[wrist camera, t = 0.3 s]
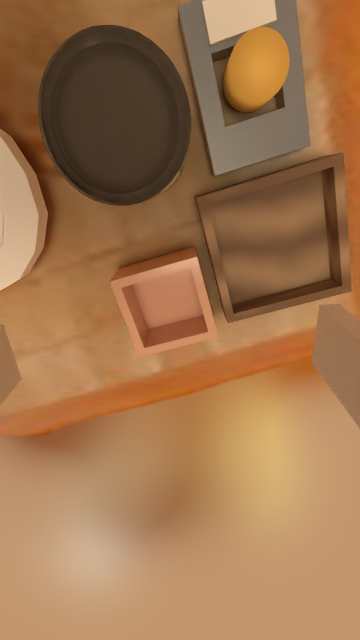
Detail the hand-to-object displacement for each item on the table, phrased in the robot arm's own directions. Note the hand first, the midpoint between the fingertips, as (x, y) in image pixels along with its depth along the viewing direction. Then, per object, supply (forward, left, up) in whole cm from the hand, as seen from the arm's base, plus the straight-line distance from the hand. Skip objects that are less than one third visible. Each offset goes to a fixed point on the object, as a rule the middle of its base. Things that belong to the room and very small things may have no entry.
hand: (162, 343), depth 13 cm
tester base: (-12, +11, -27) cm, 32 cm away
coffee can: (-10, -1, -27) cm, 29 cm away
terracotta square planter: (+7, -3, -27) cm, 28 cm away
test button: (-12, +11, -24) cm, 29 cm away
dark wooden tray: (+4, +11, -27) cm, 29 cm away
